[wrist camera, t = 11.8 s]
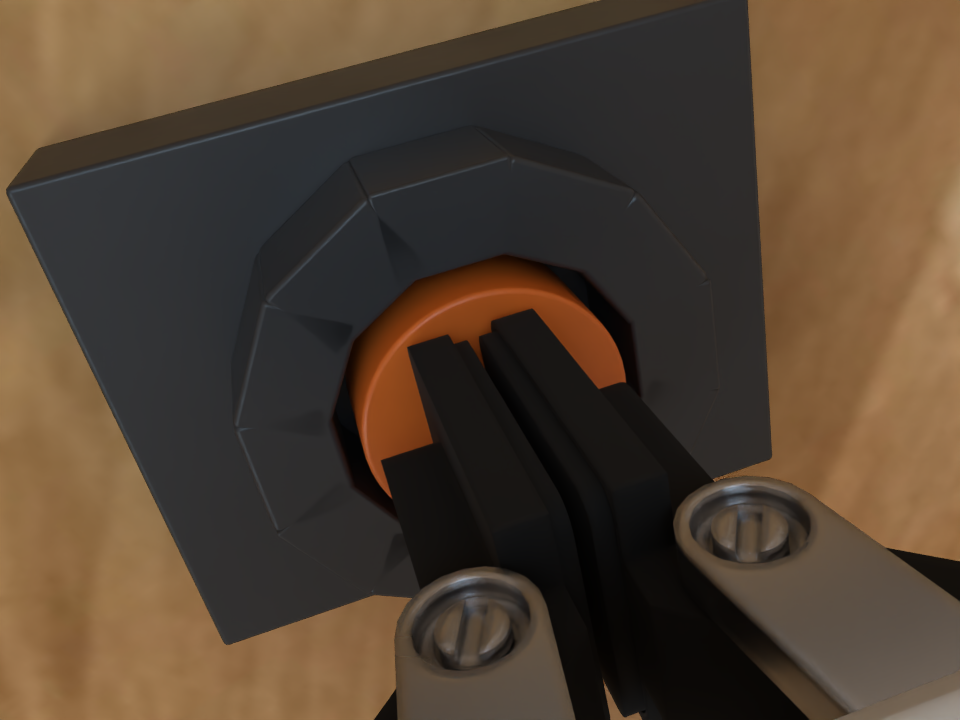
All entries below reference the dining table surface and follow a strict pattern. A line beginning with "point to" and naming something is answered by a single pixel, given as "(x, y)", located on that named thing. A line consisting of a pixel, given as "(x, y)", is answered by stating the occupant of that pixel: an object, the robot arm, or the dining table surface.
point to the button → (463, 316)
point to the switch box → (402, 268)
